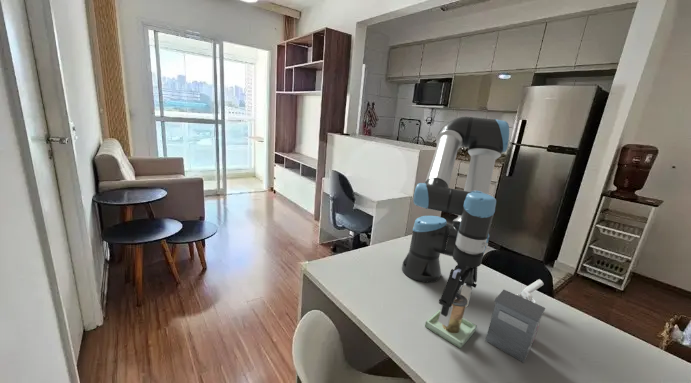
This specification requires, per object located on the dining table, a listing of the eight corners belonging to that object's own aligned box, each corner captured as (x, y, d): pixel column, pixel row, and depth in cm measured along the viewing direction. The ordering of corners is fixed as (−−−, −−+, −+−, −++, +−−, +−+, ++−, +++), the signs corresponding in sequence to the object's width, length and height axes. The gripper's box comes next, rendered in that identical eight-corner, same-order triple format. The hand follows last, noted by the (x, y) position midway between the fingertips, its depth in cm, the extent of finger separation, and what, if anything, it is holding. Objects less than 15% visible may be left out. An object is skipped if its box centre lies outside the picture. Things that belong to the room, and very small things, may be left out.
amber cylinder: (455, 336, 84) (462, 306, 81) (438, 326, 88) (444, 297, 85) (463, 328, 88) (470, 299, 85) (446, 318, 91) (452, 290, 89)
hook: (560, 299, 100) (550, 290, 98) (529, 318, 104) (519, 310, 101) (545, 283, 107) (535, 274, 104) (517, 301, 111) (507, 293, 108)
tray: (424, 326, 88) (425, 321, 87) (441, 311, 95) (442, 306, 95) (460, 348, 80) (461, 343, 80) (475, 330, 88) (477, 325, 88)
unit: (483, 340, 85) (495, 299, 81) (492, 328, 90) (503, 289, 86) (524, 364, 78) (539, 320, 74) (531, 349, 83) (545, 307, 79)
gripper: (463, 268, 70) (446, 341, 76) (498, 242, 87) (482, 303, 93) (435, 255, 75) (421, 325, 81) (473, 233, 92) (459, 291, 98)
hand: (453, 313), depth 87 cm, fingers open, 13 cm apart
